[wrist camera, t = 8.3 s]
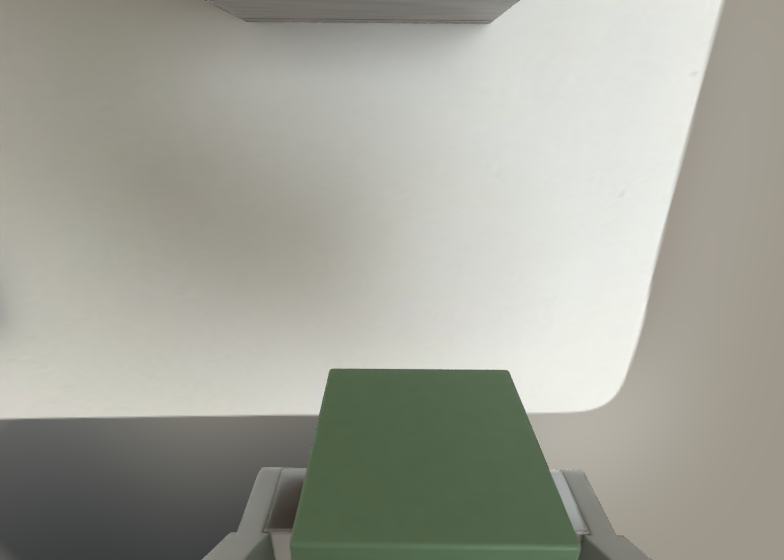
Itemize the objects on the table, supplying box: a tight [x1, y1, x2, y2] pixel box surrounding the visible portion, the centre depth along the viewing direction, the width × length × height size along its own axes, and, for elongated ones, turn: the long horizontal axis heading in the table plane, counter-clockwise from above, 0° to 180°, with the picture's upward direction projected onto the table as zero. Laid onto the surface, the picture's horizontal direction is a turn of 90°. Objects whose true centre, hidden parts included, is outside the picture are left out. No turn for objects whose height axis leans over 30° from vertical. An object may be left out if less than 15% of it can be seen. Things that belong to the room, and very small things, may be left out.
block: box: [289, 369, 581, 560], centre depth 9 cm, size 5×5×5 cm
